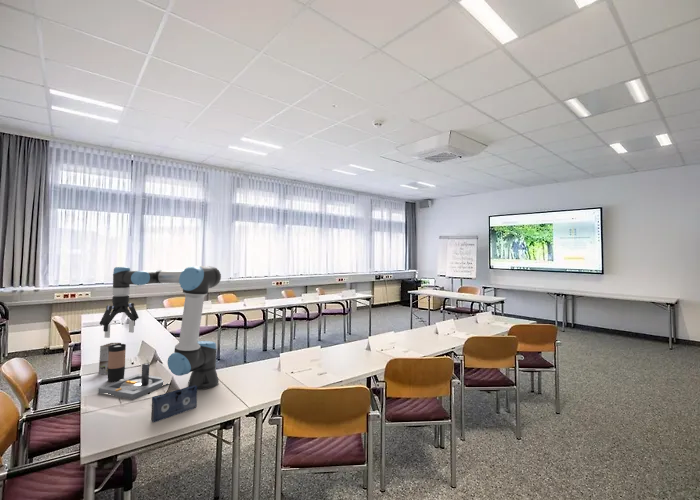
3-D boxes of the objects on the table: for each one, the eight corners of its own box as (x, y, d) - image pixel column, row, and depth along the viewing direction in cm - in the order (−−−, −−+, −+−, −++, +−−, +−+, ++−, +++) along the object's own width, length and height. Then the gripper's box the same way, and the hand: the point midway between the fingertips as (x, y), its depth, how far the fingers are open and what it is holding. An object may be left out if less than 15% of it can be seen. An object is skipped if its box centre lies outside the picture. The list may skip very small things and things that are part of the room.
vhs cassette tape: (194, 406, 151) (195, 384, 151) (197, 408, 149) (198, 386, 149) (150, 420, 137) (151, 396, 137) (153, 423, 135) (154, 398, 135)
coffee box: (109, 374, 190) (110, 346, 190) (98, 374, 190) (99, 346, 190) (120, 369, 199) (121, 342, 199) (110, 368, 199) (111, 342, 199)
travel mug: (104, 383, 176) (105, 346, 176) (119, 379, 182) (121, 343, 183) (111, 386, 172) (113, 348, 173) (127, 381, 179) (128, 344, 180)
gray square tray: (170, 385, 174) (171, 377, 175) (133, 402, 153) (133, 393, 153) (138, 380, 180) (138, 372, 181) (98, 396, 159) (98, 387, 159)
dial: (158, 384, 172) (159, 360, 172) (134, 394, 158) (135, 368, 159) (137, 380, 176) (138, 357, 176) (112, 390, 162) (113, 365, 163)
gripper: (136, 293, 190) (135, 329, 189) (92, 297, 166) (90, 339, 165) (146, 293, 188) (145, 330, 187) (103, 297, 164) (101, 340, 163)
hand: (119, 334), depth 176 cm, fingers open, 13 cm apart
